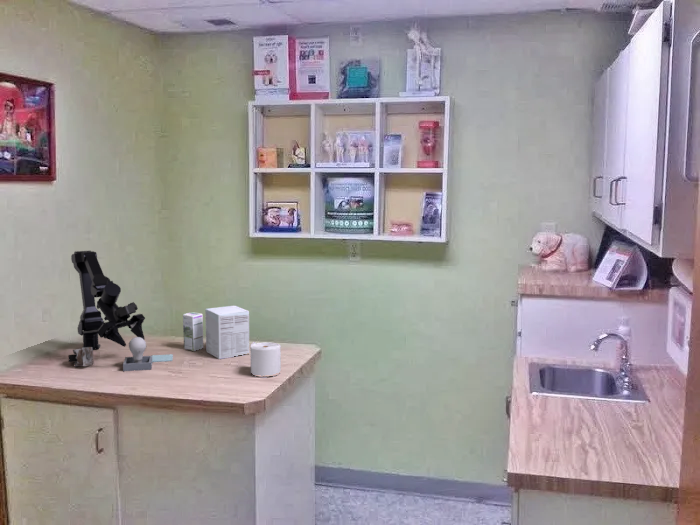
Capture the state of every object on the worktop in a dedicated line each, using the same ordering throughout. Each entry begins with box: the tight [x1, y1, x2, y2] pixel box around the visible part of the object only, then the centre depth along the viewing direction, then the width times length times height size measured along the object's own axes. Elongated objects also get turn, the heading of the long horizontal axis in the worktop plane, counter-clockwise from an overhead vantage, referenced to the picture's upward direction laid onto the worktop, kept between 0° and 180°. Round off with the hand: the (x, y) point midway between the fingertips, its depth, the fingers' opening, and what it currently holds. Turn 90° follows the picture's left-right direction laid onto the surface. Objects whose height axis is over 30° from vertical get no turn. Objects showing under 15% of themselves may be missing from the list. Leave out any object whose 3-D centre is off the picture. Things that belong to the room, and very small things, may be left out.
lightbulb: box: [128, 336, 147, 363], centre depth 246 cm, size 6×6×11 cm
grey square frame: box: [122, 355, 153, 372], centre depth 247 cm, size 10×10×2 cm
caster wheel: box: [68, 347, 94, 367], centre depth 249 cm, size 7×11×10 cm
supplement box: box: [205, 305, 250, 360], centre depth 265 cm, size 13×13×18 cm
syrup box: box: [182, 311, 204, 352], centre depth 271 cm, size 6×6×14 cm
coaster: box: [150, 353, 174, 363], centre depth 257 cm, size 8×8×1 cm
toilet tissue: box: [249, 341, 282, 376], centre depth 240 cm, size 11×12×10 cm
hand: (134, 343), depth 246 cm, fingers open, 9 cm apart
